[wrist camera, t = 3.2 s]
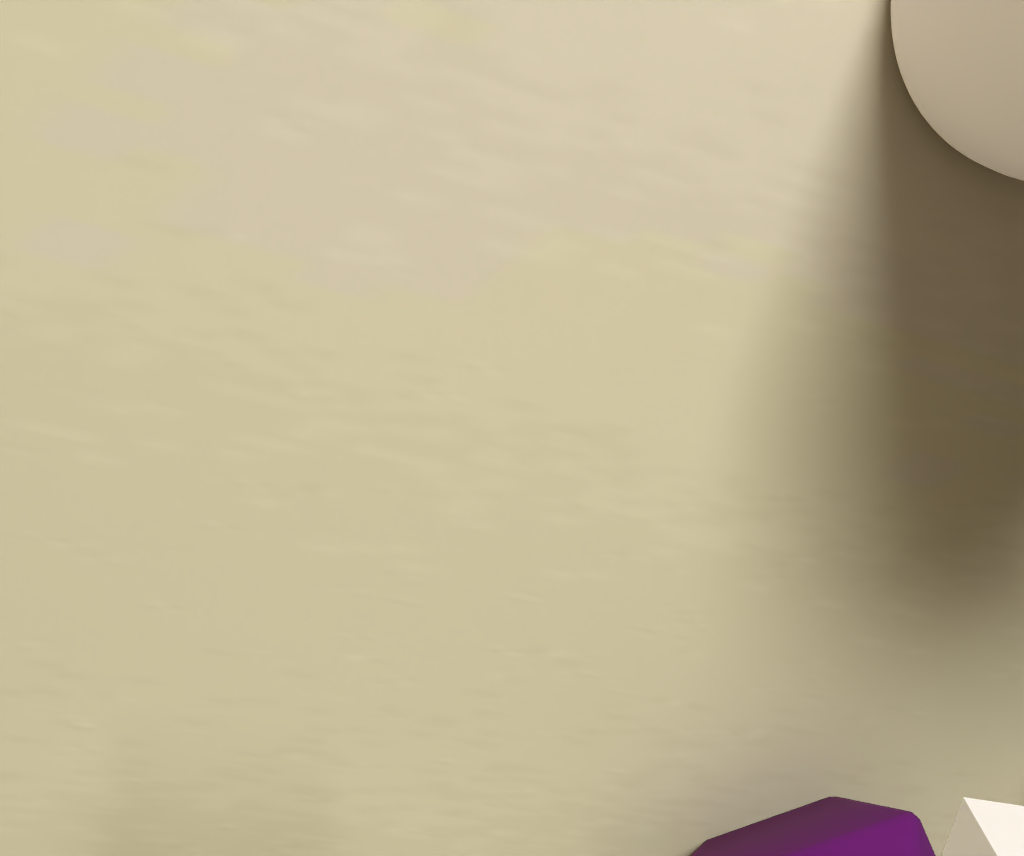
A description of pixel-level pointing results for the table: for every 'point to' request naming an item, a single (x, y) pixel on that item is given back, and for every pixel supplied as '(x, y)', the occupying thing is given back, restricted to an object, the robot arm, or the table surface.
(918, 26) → the pill bottle
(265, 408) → the table surface
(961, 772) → the table surface
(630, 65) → the table surface
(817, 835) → the perfume bottle
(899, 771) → the table surface
